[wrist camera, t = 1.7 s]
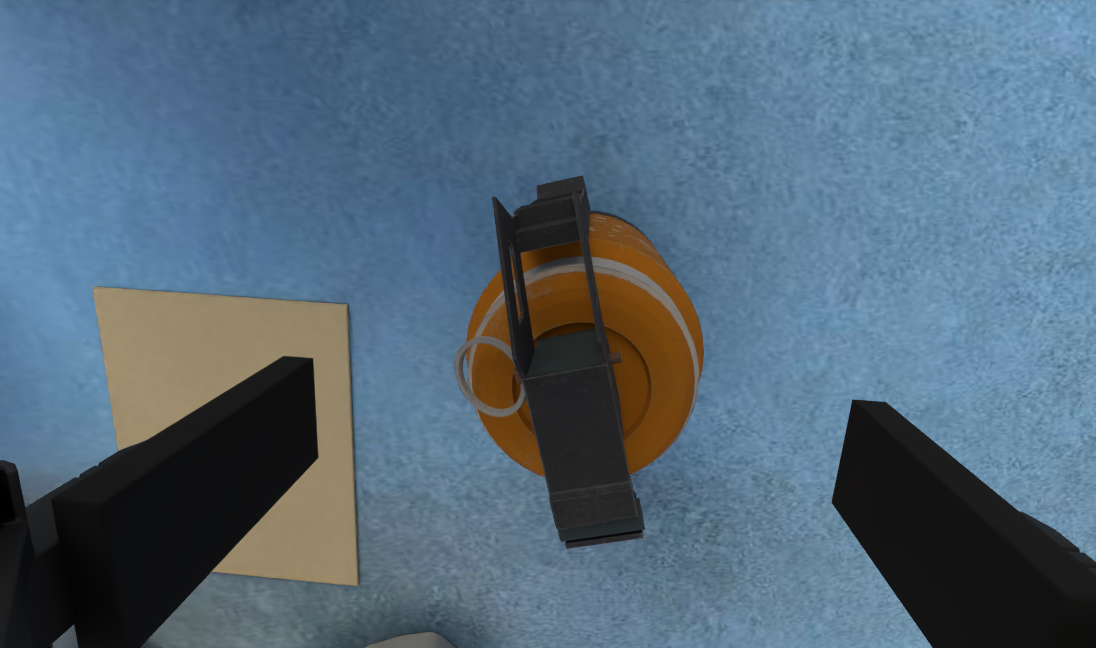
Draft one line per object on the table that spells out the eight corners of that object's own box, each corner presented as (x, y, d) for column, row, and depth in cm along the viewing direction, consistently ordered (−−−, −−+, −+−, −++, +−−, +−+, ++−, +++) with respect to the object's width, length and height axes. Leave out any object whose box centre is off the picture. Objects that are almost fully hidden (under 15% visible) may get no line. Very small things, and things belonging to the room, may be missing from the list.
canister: (528, 372, 36) (456, 611, 17) (485, 191, 34) (342, 233, 14) (676, 346, 35) (775, 569, 16) (643, 156, 33) (716, 150, 13)
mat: (96, 286, 37) (92, 287, 37) (348, 304, 36) (346, 305, 36) (138, 561, 42) (135, 564, 42) (359, 583, 41) (357, 586, 41)
